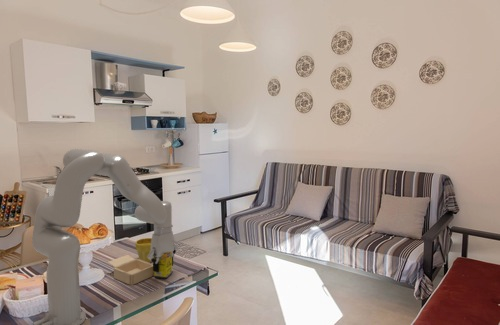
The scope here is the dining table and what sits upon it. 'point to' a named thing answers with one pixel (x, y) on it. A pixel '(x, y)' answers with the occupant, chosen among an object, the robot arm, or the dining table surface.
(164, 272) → the supplement box
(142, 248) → the plant pot
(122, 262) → the flap
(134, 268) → the carton
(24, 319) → the dining table surface
